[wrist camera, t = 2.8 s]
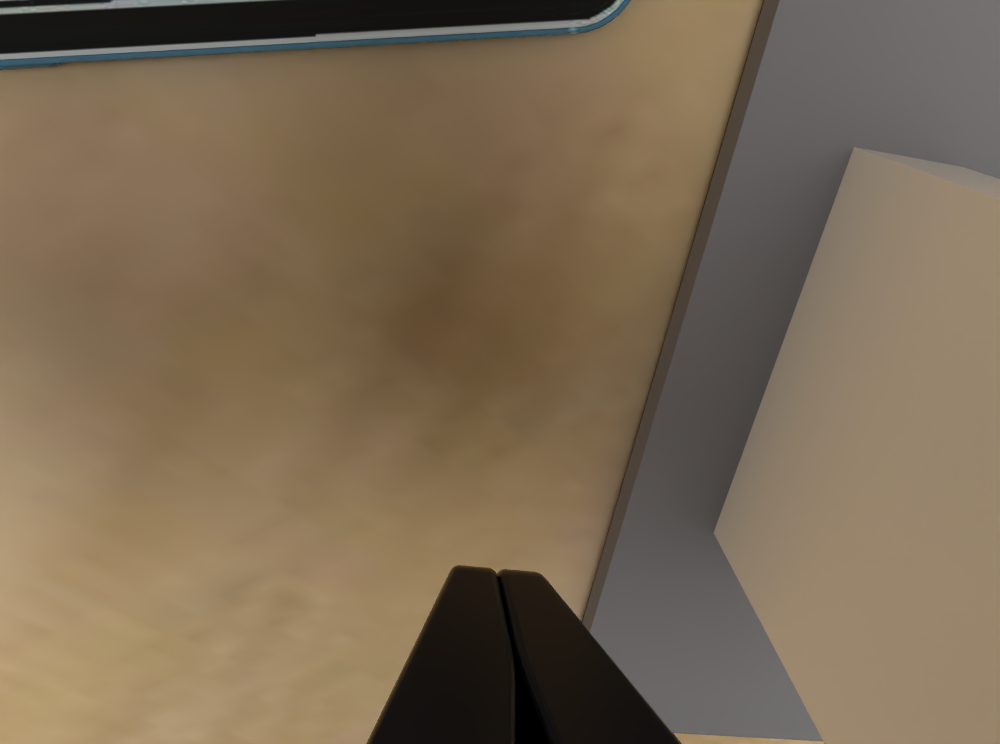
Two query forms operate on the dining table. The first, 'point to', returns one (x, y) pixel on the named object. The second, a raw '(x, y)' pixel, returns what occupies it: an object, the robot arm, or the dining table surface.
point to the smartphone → (269, 25)
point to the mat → (768, 328)
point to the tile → (884, 464)
